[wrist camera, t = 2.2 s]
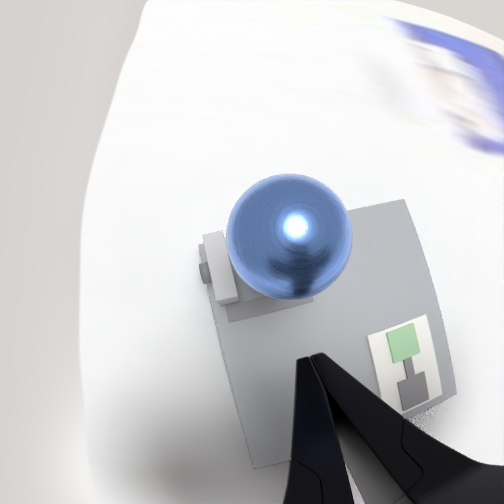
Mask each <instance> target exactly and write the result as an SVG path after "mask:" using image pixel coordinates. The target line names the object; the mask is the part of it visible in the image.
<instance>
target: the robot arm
mask: <svg viewBox="0 0 504 504" xmlns="http://www.w3.org/2000/svg"><path fill="white" fill-rule="evenodd" d="M344 461H345V462H344ZM345 463H346V465H347V467H348V469H349V471H350V473H351V475H352V477H353V479H354V482H355V484H356V486H357V488H358V490H359V492H360V494H361V496H362V498H363V500H364V502H365V504H504V466H500V465H490V464H484V463H480V462H477V461H475V460H473V459H471V458H469V457H467V456H465V455H463V454H461V453H459V452H457V451H456V450H454V449H452V448H450V447H448V446H447V445H445V444H443V443H441V442H440V441H438V440H436V439H435V438H433V437H431V436H430V435H428V434H426V433H425V432H424V431H422V430H421V429H419V428H418V427H417V426H415V425H414V424H413V423H411V422H410V421H409V420H408V419H406V418H405V419H404V417H403V416H402V415H401V414H400V413H398V412H397V411H396V410H395V409H393V408H392V407H391V406H389V405H388V404H387V403H386V402H384V401H383V400H382V399H381V398H379V397H378V396H377V395H376V394H374V393H373V392H372V391H371V390H369V389H368V388H367V387H366V386H364V385H363V384H362V383H361V382H359V381H358V380H357V379H356V378H354V377H353V376H352V375H351V374H349V373H348V372H347V371H346V370H344V369H343V368H342V367H341V366H340V365H338V364H337V363H336V362H335V361H333V360H332V359H331V358H330V357H329V356H327V355H326V354H325V353H323V352H320V353H317V354H313V355H311V356H310V357H309V356H306V357H303V358H299V359H297V360H296V370H295V390H294V408H293V423H292V437H291V451H290V461H289V472H288V480H287V487H286V492H285V496H284V500H283V504H354V500H353V496H352V491H351V487H350V483H349V479H348V475H347V471H346V467H345Z"/></svg>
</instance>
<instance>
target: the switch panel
mask: <svg viewBox="0 0 504 504" xmlns="http://www.w3.org/2000/svg"><path fill="white" fill-rule="evenodd" d="M347 212H348V215H349V218H350V221H351V225H352V233H353V241H352V249H351V254H350V257H349V260H348V262H347V265H346V267H345V269H344V270H343V272H342V273H341V275H340V276H339V277H338V278H337V280H336V281H335V282H334V283H333V284H331V285H330V286H329V287H328V288H327V289H325V290H324V291H322V292H321V293H319V294H317V295H315V296H312V297H309V298H306V299H301V300H291V301H286V300H278V299H273V298H270V297H267V296H264V295H262V294H260V293H259V292H257V291H255V290H254V289H252V288H251V287H250V286H249V285H247V284H246V283H245V282H244V281H243V280H242V278H241V277H240V276H239V275H238V273H237V272H236V270H235V269H234V267H233V265H232V262H231V260H230V257H229V254H228V250H227V244H226V238H224V234H223V230H222V231H218V232H213V233H209V234H205V235H202V237H203V242H204V243H203V244H199V250H200V255H201V260H202V263H201V264H199V269H200V274H201V278H202V281H203V283H204V284H205V283H207V288H208V292H209V297H210V301H211V306H212V310H213V314H214V319H215V323H216V327H217V331H218V336H219V340H220V344H221V348H222V352H223V356H224V360H225V364H226V368H227V372H228V376H229V380H230V384H231V388H232V391H233V395H234V399H235V403H236V406H237V410H238V414H239V417H240V421H241V425H242V428H243V432H244V435H245V439H246V442H247V446H248V449H249V453H250V456H251V459H252V463H253V466H254V469H257V468H261V467H266V466H271V465H275V464H279V463H283V462H287V461H290V451H291V437H292V423H293V408H294V390H295V370H296V360H297V359H299V358H303V357H306V356H309V357H310V356H311V355H313V354H317V353H320V352H323V353H325V354H326V355H327V356H329V357H330V358H331V359H332V360H333V361H335V362H336V363H337V364H338V365H340V366H341V367H342V368H343V369H344V370H346V371H347V372H348V373H349V374H351V375H352V376H353V377H354V378H356V379H357V380H358V381H359V382H361V383H362V384H363V385H364V386H366V387H367V388H368V389H369V390H371V391H372V392H373V393H374V394H376V395H377V396H378V397H379V398H381V399H382V400H383V401H384V402H386V403H387V404H388V405H389V406H391V407H392V408H393V409H395V410H396V411H397V412H398V413H400V414H401V415H402V416H403V417H404V419H405V418H406V419H408V418H410V417H413V416H415V415H417V414H419V413H421V412H423V411H425V410H427V409H429V408H431V407H433V406H435V405H437V404H439V403H440V402H442V401H444V400H446V399H448V398H450V397H452V396H453V395H455V394H457V393H456V386H455V379H454V373H453V367H452V362H451V357H450V351H449V346H448V342H447V337H446V332H445V328H444V324H443V319H442V315H441V311H440V307H439V304H438V300H437V296H436V292H435V289H434V285H433V282H432V278H431V275H430V272H429V268H428V265H427V262H426V259H425V256H424V253H423V250H422V247H421V244H420V241H419V238H418V235H417V232H416V229H415V227H414V224H413V221H412V219H411V216H410V213H409V211H408V208H407V205H406V203H405V200H404V199H401V200H396V201H392V202H387V203H382V204H377V205H372V206H368V207H363V208H358V209H354V210H349V211H347Z"/></svg>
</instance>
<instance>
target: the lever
mask: <svg viewBox="0 0 504 504" xmlns="http://www.w3.org/2000/svg"><path fill="white" fill-rule="evenodd" d="M352 241H353V233H352V225H351V221H350V218H349V215H348V212H347V210H346V208H345V206H344V204H343V203H342V201H341V200H340V199H339V197H338V196H337V195H336V194H335V193H334V192H333V191H332V190H331V189H330V188H329V187H327V186H326V185H324V184H323V183H321V182H319V181H318V180H316V179H313V178H311V177H308V176H304V175H298V174H281V175H275V176H271V177H268V178H265V179H263V180H261V181H259V182H257V183H256V184H254V185H253V186H252V187H250V188H249V189H248V190H247V191H246V192H245V193H244V194H243V195H242V196H241V197H240V198H239V200H238V201H237V202H236V204H235V206H234V208H233V209H232V212H231V214H230V217H229V221H228V225H227V232H226V244H227V250H228V254H229V257H230V260H231V262H232V265H233V267H234V269H235V270H236V272H237V273H238V275H239V276H240V277H241V278H242V280H243V281H244V282H245V283H246V284H247V285H249V286H250V287H251V288H252V289H254V290H255V291H257V292H259V293H260V294H262V295H264V296H267V297H270V298H273V299H278V300H286V301H291V300H301V299H306V298H309V297H312V296H315V295H317V294H319V293H321V292H322V291H324V290H325V289H327V288H328V287H329V286H330V285H331V284H333V283H334V282H335V281H336V280H337V278H338V277H339V276H340V275H341V273H342V272H343V270H344V269H345V267H346V265H347V262H348V260H349V257H350V254H351V249H352Z"/></svg>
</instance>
